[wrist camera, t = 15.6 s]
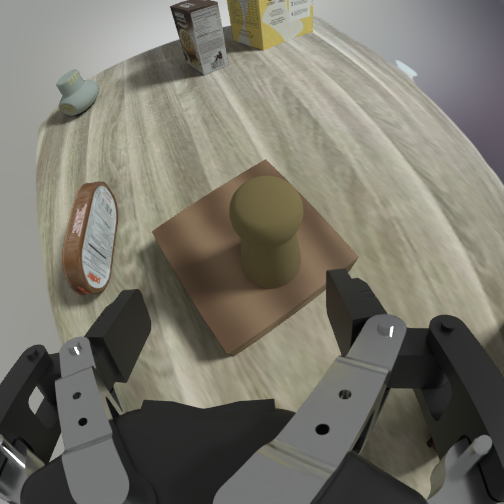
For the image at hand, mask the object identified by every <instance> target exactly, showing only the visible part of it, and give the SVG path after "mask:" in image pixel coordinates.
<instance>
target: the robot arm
mask: <svg viewBox="0 0 504 504" xmlns="http://www.w3.org/2000/svg"><path fill="white" fill-rule="evenodd" d="M326 308H327V314H328V318H329V321H330V324H331V326H332V329H333V332H334V335H335V337H336V340H337V343H338V346H339V349H340V352H341V355H342V356H338V357H337V358H336V359H335V361H334V362H333V363H332V365H331V366H330V368H329V369H328V371H327V372H326V374H325V375H324V376H323V378H322V379H321V381H320V382H319V383H318V385H317V386H316V388H315V389H314V390H313V392H312V393H311V394H310V396H309V397H308V398H307V400H306V401H305V402H304V404H303V405H302V406H301V407H300V409H299V410H298V411H297V413H295V412H292V411H289V410H284V409H277V408H275V402H274V399H265V400H251V401H238V402H234V403H230V404H225V405H221V406H216V407H211V408H206V409H202V408H197V407H193V406H189V405H184V404H180V403H177V402H173V401H154V400H144V401H143V404H142V406H141V409H137V410H133V411H129V412H125V410H124V407H123V405H122V403H121V400H120V398H119V395H118V393H117V390H116V389H115V387H114V383H115V382H122V383H127V381H128V379H129V376H130V374H131V372H132V370H133V368H134V365H135V363H136V361H137V359H138V357H139V355H140V352H141V350H142V348H143V346H144V344H145V342H146V340H147V338H148V336H149V334H150V331H151V320H150V316H149V314H148V311H147V308H146V305H145V302H144V299H143V296H142V293H141V291H140V290H139V289H133V290H123V291H122V292H121V293H120V294H119V295H118V297H117V298H116V299H115V301H114V302H113V303H111V304H110V305H109V306H107V307H106V308H105V309H104V311H103V312H102V313H101V316H99V317H98V318H97V321H95V322H94V324H93V325H92V326H91V328H90V329H89V331H88V332H87V333H86V335H85V336H84V337H76V338H73V339H70V340H69V341H67V342H66V343H65V344H64V345H63V346H62V347H61V349H60V351H59V353H55V354H48V352H47V350H46V349H45V347H44V346H43V345H34V346H32V347H30V348H28V349H27V350H25V351H24V352H23V354H22V355H21V356H20V357H19V359H18V360H17V362H16V363H15V364H14V366H13V367H12V368H11V370H10V371H9V373H8V374H7V375H6V377H5V378H4V380H3V381H2V383H1V384H0V498H1V499H3V500H5V501H7V502H8V503H10V504H504V378H503V376H502V374H501V373H500V371H499V370H498V369H497V367H496V366H495V364H494V363H493V361H492V360H491V358H490V357H489V356H488V354H487V353H486V351H485V350H484V349H483V347H482V346H481V345H480V343H479V342H478V341H477V339H476V338H475V337H474V335H473V334H472V333H471V331H470V330H469V329H468V327H467V326H466V325H465V324H464V323H463V321H461V320H460V319H458V318H457V317H454V316H451V315H439V316H436V317H434V318H433V319H432V320H431V321H430V324H429V328H407V327H406V324H405V322H404V321H403V320H402V319H400V318H399V317H397V316H394V315H390V314H387V312H386V311H385V309H384V308H383V306H382V305H381V303H380V302H379V300H378V299H377V297H375V294H374V293H373V291H372V290H371V289H370V287H369V286H368V284H367V283H366V282H364V281H362V280H361V279H359V278H354V279H351V277H350V275H349V274H348V272H347V271H346V269H345V268H340V269H332V270H327V272H326ZM36 386H37V387H38V389H39V390H40V391H41V393H42V394H43V396H44V399H43V401H42V403H41V404H40V406H39V408H38V410H37V412H36V414H34V413H33V412H32V411H31V409H30V408H29V404H28V401H29V397H30V395H31V394H32V392H33V390H34V388H35V387H36ZM391 388H413V390H414V392H415V395H416V397H417V399H418V402H419V404H420V407H421V409H422V412H423V415H424V417H425V420H426V422H427V425H428V428H429V430H430V433H431V436H432V439H433V442H434V444H435V447H436V450H437V453H438V456H439V459H440V461H439V463H438V464H437V465H436V466H435V467H434V469H433V471H432V473H431V478H430V482H431V491H430V494H429V497H428V499H427V500H426V499H425V498H424V497H423V496H422V495H421V494H420V493H418V492H417V491H415V490H414V489H412V488H410V487H409V486H407V485H405V484H404V483H402V482H400V481H399V480H397V479H395V478H394V477H392V476H391V475H389V474H388V473H386V472H384V471H383V470H381V469H380V468H378V467H377V466H375V465H374V464H372V463H371V462H369V461H368V460H366V459H365V458H363V457H362V456H360V454H361V452H362V450H363V448H364V446H365V444H366V442H367V440H368V438H369V436H370V434H371V431H372V429H373V427H374V425H375V423H376V421H377V419H378V417H379V414H380V412H381V410H382V408H383V406H384V404H385V401H386V399H387V397H388V395H389V392H390V390H391ZM61 431H62V437H63V441H64V446H65V451H64V452H63V453H62V455H60V456H59V457H57V458H55V459H54V460H52V461H51V462H49V461H50V458H51V456H52V453H53V451H54V448H55V446H56V443H57V441H58V438H59V436H60V434H61Z"/></svg>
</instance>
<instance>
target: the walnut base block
mask: <svg viewBox="0 0 504 504" xmlns="http://www.w3.org/2000/svg"><path fill="white" fill-rule="evenodd" d="M258 176H274V177H279V178H281V179H283V180H285V181H287V180H286V179H285V178H284V177H283V176H282V175H281V174H280V173H279V172H278V171H277V170H276V169H275V168H274V167H273V166H272V165H271V164H270V163H269V162H268V161H267V160H264V161H262V162H260V163H259V164H257V165H255V166H253V167H252V168H250V169H248V170H247V171H245V172H243V173H242V174H240V175H238V176H237V177H235V178H233V179H232V180H230V181H228V182H227V183H225V184H224V185H222V186H220V187H219V188H217V189H216V190H214V191H212V192H211V193H209V194H208V195H206V196H204V197H203V198H201V199H200V200H198V201H197V202H195V203H194V204H192V205H191V206H189V207H187V208H186V209H184V210H183V211H181V212H180V213H178V214H177V215H175V216H174V217H172V218H171V219H169V220H168V221H167V222H165V223H164V224H162V225H161V226H159V227H158V228H156V229H155V230H153V231H152V233H153V235H154V237H155V239H156V241H157V242H158V244H159V246H160V248H161V249H162V251H163V253H164V255H165V256H166V258H167V260H168V261H169V263H170V265H171V267H172V268H173V270H174V272H175V273H176V275H177V277H178V278H179V280H180V282H181V283H182V285H183V287H184V288H185V290H186V292H187V293H188V295H189V296H190V298H191V300H192V301H193V303H194V304H195V306H196V308H197V309H198V311H199V312H200V314H201V315H202V317H203V318H204V320H205V322H206V323H207V325H208V326H209V328H210V329H211V331H212V332H213V334H214V335H215V337H216V338H217V340H218V341H219V343H220V344H221V346H222V347H223V349H224V350H225V351H226V353H227V354H228V355H232V356H235V355H237V354H238V353H240V352H241V351H242V350H244V349H245V348H247V347H248V346H250V345H251V344H253V343H254V342H256V341H257V340H258V339H260V338H261V337H263V336H264V335H266V334H267V333H268V332H270V331H271V330H273V329H274V328H275V327H277V326H278V325H280V324H281V323H282V322H284V321H285V320H286V319H288V318H289V317H290V316H292V315H293V314H295V313H296V312H297V311H299V310H300V309H301V308H303V307H304V306H305V305H307V304H308V303H309V302H310V301H312V300H313V299H314V298H316V297H317V296H318V295H320V294H321V293H322V292H323V291H325V290H326V272H327V270H332V269H340V268H345V269H346V271H347V272H348V271H350V270H351V268H352V266H353V265H354V263H355V262H356V260H357V259H358V256H357V255H356V253H355V252H354V251H353V250H352V249H351V248H350V247H349V245H348V244H347V243H346V242H345V241H344V240H343V239H342V238H341V237H340V235H339V234H338V233H337V232H336V231H335V230H334V229H333V228H332V227H331V226H330V224H329V223H328V222H327V221H326V220H325V219H324V218H323V217H322V216H321V215H320V214H319V213H318V212H317V211H316V209H315V208H314V207H313V206H312V205H311V204H310V203H309V202H308V201H307V200H306V199H305V198H304V197H303V196H302V195H301V194H300V193H299V192H298V191H297V192H298V194H299V196H300V198H301V200H302V203H303V212H304V213H303V218H302V222H301V226H300V228H299V229H298V231H297V237H298V242H299V247H300V253H301V265H300V269H299V272H298V273H297V275H296V276H295V278H294V279H293V280H292V281H290V282H289V283H288V284H286V285H284V286H281V287H279V288H268V289H267V288H263V287H260V286H257V285H255V284H254V283H252V282H251V281H249V279H248V278H247V277H246V276H245V274H244V272H243V269H242V266H241V238H240V237H239V236H238V234H237V233H236V232H235V231H234V229H233V226H232V223H231V220H230V218H229V206H230V201H231V199H232V196H233V194H234V193H235V191H236V190H237V189H238V188H239V187H240V186H241V185H242V184H243V183H245V182H246V181H248V180H249V179H252V178H255V177H258ZM287 182H288V181H287ZM288 183H289V182H288Z"/></svg>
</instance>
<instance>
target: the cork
mask: <svg viewBox="0 0 504 504" xmlns="http://www.w3.org/2000/svg"><path fill="white" fill-rule="evenodd" d="M303 213H304V212H303V203H302V200H301V198H300V196H299V194H298V192H297V190H296V189H295V188H294V187H293V186H292V185H291V184H290V183H288V182H287V181H285V180H283V179H281V178H279V177H274V176H258V177H255V178H252V179H249V180H248V181H246V182H245V183H243V184H242V185H241V186H240V187H239V188H238V189H237V190H236V191H235V193H234V194H233V196H232V199H231V201H230V206H229V218H230V220H231V223H232V226H233V229H234V231H235V232H236V233H237V234H238V236H239V237H240V238H241V266H242V269H243V272H244V274H245V276H246V277H247V278H248V279H249V281H251V282H252V283H254V284H255V285H257V286H260V287H263V288H267V289H268V288H279V287H281V286H284V285H286V284H288V283H289V282H290V281H292V280H293V279H294V278H295V276H296V275H297V273H298V272H299V269H300V265H301V253H300V247H299V242H298V237H297V231H298V229H299V228H300V226H301V222H302V218H303Z"/></svg>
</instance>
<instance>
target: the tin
mask: <svg viewBox="0 0 504 504" xmlns="http://www.w3.org/2000/svg"><path fill="white" fill-rule="evenodd" d="M117 224H118V210H117V204H116V200H115V197H114V195H113V193H112V192H111V190H110V188H109V187H108V185H107V184H106V183H105V182H94V183H85V184H83V185H82V186H81V187H80V188H79V190H78V191H77V194H76V197H75V200H74V204H73V208H72V211H71V216H70V220H69V224H68V228H67V232H66V237H65V241H64V246H63V252H62V263H63V270H64V274H65V277H66V280H67V282H68V284H69V286H70V287H71V288H72V289H73V290H74V291H75V292H76V293H78V294H80V295H85V294H96V293H100V292H102V291H103V290H104V289H105V288H106V286H107V285H108V282H109V279H110V275H111V268H112V260H113V252H114V245H115V238H116V231H117Z"/></svg>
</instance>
